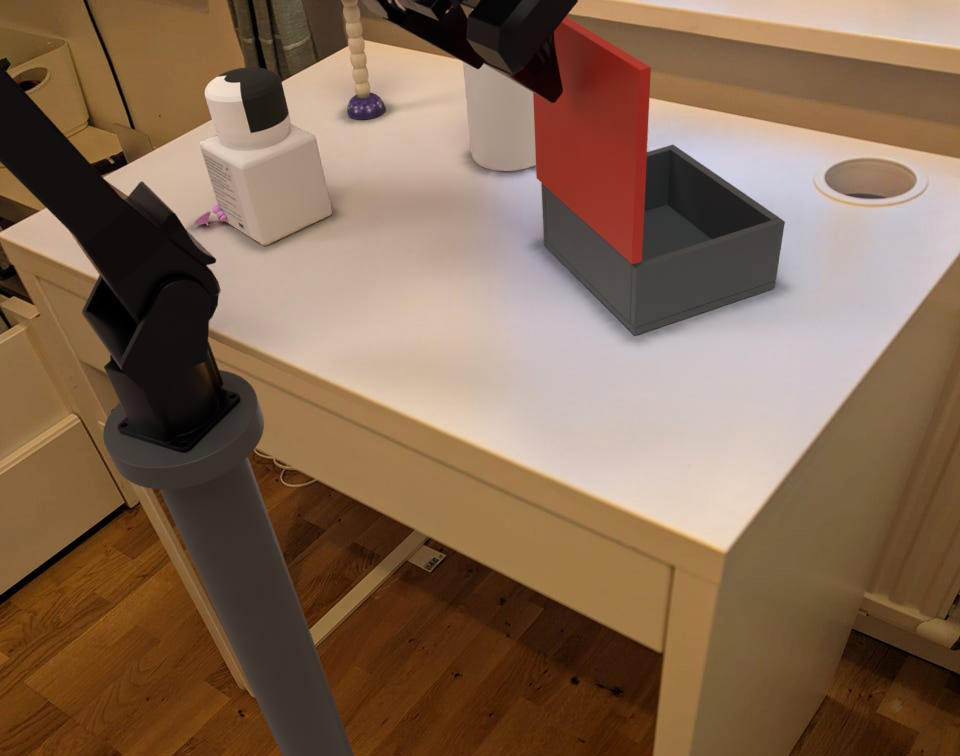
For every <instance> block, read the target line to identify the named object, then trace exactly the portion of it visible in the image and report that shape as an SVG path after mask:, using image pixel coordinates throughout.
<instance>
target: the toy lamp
mask: <svg viewBox="0 0 960 756" xmlns="http://www.w3.org/2000/svg"><path fill="white" fill-rule="evenodd" d="M340 1H341V3H342V5H343V11H342V12H343V18H344V20H345V30H346V35H347V36H348V39H347V46H348V49H349V52H350V56H349V60H350V64H351V66H352V70H351V71H352V72H351V73H352V77H353V81H354V82H355V83H354V92H355V95H353V96H352V97H351V98H350V99H349V101H348V104H347V106H346V107H347V108H346V113H347V115H348V116H349V118H352V119H355V120H362V121H363V120H371V119H375V118H377V117H381V116H382V115H383V114H384V113H385V112H386V105H385V103H384V101H383V99H382V98H381V97H380V96H379V95H378V94H376V93H374V92H371V85H370V82H369V70H368V67H367V64H368V63H367V62H368V60H367V54H366V52H365V47H366V45H365V39H364V37H363V25H362V22H361V10H360V7H359V5H358V1H359V0H340Z"/></svg>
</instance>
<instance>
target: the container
mask: <svg viewBox="0 0 960 756" xmlns="http://www.w3.org/2000/svg"><path fill="white" fill-rule="evenodd" d="M282 81H283V80H282V78H281V77H280V75H278V74H277V73H276V72H275V71H273V70H270V69H267V68H263V67H258V66H255V67H254V66H248V67H239V68H234V69H231V70H228V71H224V72H223V73H221V74H219V75H217V76H216V77H215V78H213V79H212V80H211V81H209V82H208V84H207V85H206V87H205V89H204V97H205V101H206V104H207V107H208V111H209V114H210V117H211V121H212V125H213V128H214V132H215V134H216V135H214V136H211V137H208V138H206V139H203V140H201V141H200V142H199V148H200V152H201V154H202V158H203V161H204V164H205V167H206V170H207V175H208V177H209V180H210V185H211V187H212V190H213V193H214V197H215V200H216V203H217V205H219V206H220V207H221V209H222V211H223V212H224V213H225V215H226V217H227V218H226V219H227V221H226V222H225V223H227V224H229V225H230V226H232V227H234V228H235V229H237V230H238V231H240V232H242V233H243V234H245V235H247V236H248V237H249V238H251V239H253V240H254V241H256V242H257V243H259V244H260V245H262V246H264V247H265V246H268V245H270V244H272V243H275V242H277V241H278V240H281V239H283V238H285V237H288V236H290V235H292V234H294V233H296V232H298V231H301V230H302V229H304V228H307V227H309V226H311V225H313V224H316V223H317V222H319V221H321V220H323V219H325V218H327V217H328V218H329V217H330V216H331V215H332V213H333V209H332V205H331V201H330V195H329V191H328V186H327V181H326V177H325V173H324V167H323V163H322V158H321V154H320V150H319V145H318V140H317V137H316V135H315V134H313V133H312V132H309V131H308V130H306V129H304V128H301V127H299V126H297V125H294V124H292V121H291V116H290V115H291V114H290V111H289V107H288V104H287V103H288V102H287V98H286V94H285V90H284V86H283V82H282Z"/></svg>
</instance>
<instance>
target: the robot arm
mask: <svg viewBox="0 0 960 756" xmlns="http://www.w3.org/2000/svg"><path fill="white" fill-rule="evenodd" d="M361 2H362V3H363V4H364V6H365V7H366V8H367V9H368V11H369V12H372V13H374V14H376V15H378V16H380V17H382V19H383V20H384V21H385V22H387V23H389V24H392V25H394V26H396V27H397V28H399V29H401V30H403V31H404V32H407V33H408V34H410V35H412V36H414V37H416V38H418V39H420V40H421V41H423V42H425V43H427V44H429V45H431V46H433V47H435V48H437V49H439V50H440V51H442V52H444V53H446V54H448V55H450V56H452V58H455V59H457V60H459V61H461V62H462V63H463V62H464V63H466V64H468V65H470V66H472V67H474V68H476V69H480V68H481V67H482V65H483V64H485V65H487V66H489V67H490V68H492V69H494V70H495V71H497V72H499V73H500V74H502V75H504V76H506V77H508V78H509V79H511V80H513V81H514V82H516V83H518V84H520V85H521V86H523V87H525V88H526V89H528V90H530V91H531V92H533V93H535V94H537V95H538V96H540V97H542V98H544V99H545V100H547V101H549V102H551V103H555V102H556V101H557V99H558V98H559V97H560V96H561V94H562V93H563V87H562V82H561V77H560V71H559V66H558V60H557V55H556V49H555V41H554V31H555V30H556V28H557V27H558V26H559V25H560V23H561V22H562V21H563V20H564V18H565V17H568V15H569V13H571V11H572V10H573V8H574V7H575V6H576V5H577V3H579V0H361ZM462 6H464V7H466V8H469V9H471V12H470V13H469V14H468V15H467V14H466V12H465V10H464V8H463V7H462ZM472 9H473V10H472ZM0 163H1V164H2V166H4V167H5V168H6V170H7V171H9V172H10V174H12V175H13V177H15V178H16V180H17V181H19V182H20V183H21V184H22V186H24V187H25V188H26V189H27V190H28V191H29V192H30V193H31V194H32V195H33V196H34V197H35V198H36V199H37V200H38V201H39V202H40V203H41V204H42V205H43V206H44V207H45V208H46V209H47V210H48V211H49V212H50V213H51V214H52V216H54V217H55V218H56V219H57V220H58V221H59V222H60V223H61V224H62V225H63V226H64V227H65V228H66V229H67V231H69V233H70V234H71V236H72V238H73V239H74V240H75V242H76V243H77V245H78V246H79V248H80V249H81V250H82V252H83V253H84V255H85V256H86V258H87V259H88V260H89V262H90V263H91V265H92V266H93V268H94V269H95V270H96V272H97V273H98V277H97V279H96V281H95V283H94V285H93V287H92V290H91V291H90V294H89V295H88V298H87V299H86V301H85V304H84V306H83V308H82V310H81V315H82V316H83V318H84V319H85V320H86V322H87V323H88V325H89V326H90V327H91V329H92V330H93V331H94V333H95V334H96V336H97V338H98V339H99V340H100V341H101V343H102V345H103V346H104V348H105V349H106V351H108V353H109V358H110V360H109V361H108V362H107V363H106V364H104V366H103V369H104V371H105V373H106V376H107V377H108V380H109V382H110V384H111V386H112V388H113V391H114V393H115V395H116V397H117V399H118V401H119V402H120V403H121V406H122V408H123V410H124V412H125V414H126V416H127V417H126V418H125V419H124V420H123V421H122V422H120V423H119V424H118V426H117V428H118V430H119V432H120V433H121V434H123V435H126V436H130V437H133V438H136V439H139V440H142V441H145V442H148V443H151V444H155V445H158V446H161V447H164V448H167V449H170V450H173V451H177V452H180V453H187V452H189V451H191V450H192V449H193V448H194V447H195V446H196V445H197V444H198V443H199V442H200V441H201V440H202V439H203V438H204V437H205V436H206V435H207V434H208V433H209V432H210V431H211V430H212V429H213V428H214V427H215V426H216V425H217V424H218V423H219V422H220V421H221V420H222V419H223V418H224V417H225V416H226V415H227V414H228V413H229V412H230V411H231V410H232V409H233V408H234V407H236V406H237V405H238V404H239V403H240V401H241V399H240V396H239V394H238V393H236V392H232V391H229V390H225V389H222V388H221V387H222V386H223V380H222V377H221V375H220V372H219V370H220V369H219V367H218V364H217V361H216V358H215V356H214V353H213V349H212V347H211V344H210V341H209V329H210V320H212V318H213V316H214V315H215V312H216V310H217V308H218V305H219V298H220V297H219V296H220V294H221V291H222V290H221V286H220V282H219V280H218V279H217V277H216V275H215V274H214V272H213V270H212V269H211V268H210V267H209V266H211V265H214V264H216V262H217V259H216V258H215V256H214V255H213V254H212V253H210V251H209V250H208V249H207V248H206V247H205V246H204V245H202V244H201V243H200V242H199V240H198V239H197V238H195V237H194V235H192V234H191V232H189V231H188V229H186V228H185V226H184V224H183V222H182V221H181V220H180V218H179V217H178V215H177V214H176V213H175V212H174V211H173V210H172V209H171V208H170V207H169V206H168V205H167V203H165V202H164V201H163V200H162V199H161V198H160V197H159V196H158V195H157V194H156V193H155V192H154V191H153V190H152V189H151V187H149V186H148V185H147V184H146V183H145V182H144V181H140V182H138V184H137V185H136V186H135V188H134V189H133V190H132V191H131V192H130V193H129V195H127V194H126V193H124V192H123V191H122V190H120V189H118V187H115V186H114V185H113V184H111V182H109V181H107V180H106V179H105V178H104V177H103V176H102V175H101V174H100V172H98V170H97V169H96V168H95V167H94V166H93V165H92V164H91V163H90V162H89V160H88V159H87V158H86V157H85V156H84V155H83V154H82V153H81V152H80V151H79V149H78V148H76V145H74V144H73V143H72V142H71V141H70V140H69V138H67V136H66V135H65V134H64V133H63V132H62V130H60V128H58V126H57V125H56V124H55V123H54V122H53V121H52V120H51V118H50V117H48V116H47V114H46V113H45V112H44V111H43V110H42V109H41V108H40V107H39V105H38V104H37V103H36V102H35V101H34V100H33V98H32V97H30V96H29V95H28V93H27V92H26V91H25V90H24V89H23V88H22V86H20V85H19V83H18V82H17V81H16V80H15V79H14V78H13V77H12V76H11V75H10V74H9V73H8V72H7V70H6V69H5V68H4V67H3V66H2V65H1V64H0Z"/></svg>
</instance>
